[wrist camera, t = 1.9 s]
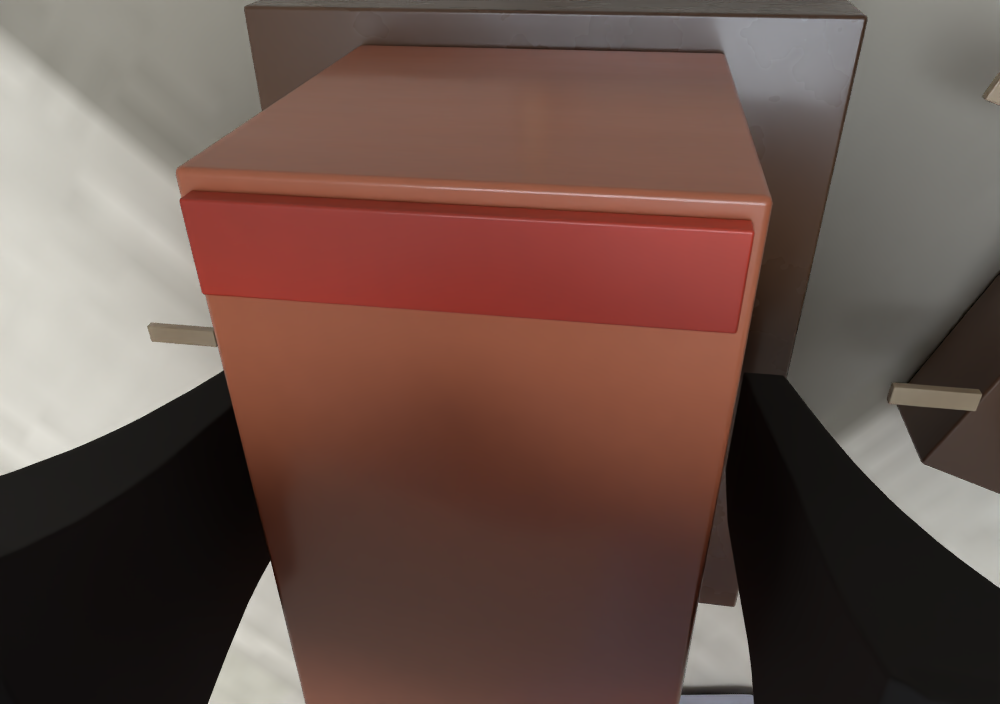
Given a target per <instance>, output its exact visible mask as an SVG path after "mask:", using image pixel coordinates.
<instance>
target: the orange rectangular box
mask: <svg viewBox="0 0 1000 704" xmlns="http://www.w3.org/2000/svg"><path fill="white" fill-rule="evenodd" d="M176 177H177V181H178V186H179V190H180V194H181V198H180V205H181V210H182V214H183V218H184V222H185V226H186V230H187V234H188V238H189V242H190V246H191V250H192V254H193V258H194V262H195V266H196V270H197V274H198V278H199V282H200V286H201V290H202V293H203V294H205V295H206V300H207V304H208V308H209V312H210V316H211V320H212V324H213V328H214V332H215V336H216V340H217V344H218V348H219V352H220V357H221V361H222V365H223V369H224V373H225V377H226V381H227V385H228V389H229V393H230V397H231V401H232V405H233V409H234V414H235V418H236V422H237V426H238V430H239V434H240V438H241V442H242V446H243V450H244V454H245V458H246V462H247V466H248V471H249V475H250V479H251V483H252V487H253V491H254V495H255V499H256V503H257V507H258V511H259V515H260V519H261V523H262V527H263V532H264V536H265V540H266V544H267V548H268V552H269V556H270V560H271V564H272V568H273V572H274V576H275V580H276V584H277V589H278V593H279V597H280V601H281V605H282V609H283V613H284V617H285V621H286V625H287V629H288V633H289V637H290V641H291V646H292V650H293V654H294V658H295V662H296V666H297V670H298V674H299V678H300V682H301V686H302V690H303V694H304V698H305V703H306V704H679V703H680V698H681V692H682V687H683V682H684V676H685V671H686V665H687V660H688V655H689V649H690V644H691V639H692V633H693V628H694V623H695V617H696V612H697V607H698V601H699V596H700V590H701V585H702V580H703V574H704V569H705V564H706V558H707V553H708V548H709V542H710V537H711V532H712V526H713V521H714V515H715V510H716V505H717V499H718V494H719V489H720V483H721V478H722V473H723V467H724V462H725V457H726V451H727V446H728V440H729V435H730V430H731V424H732V419H733V414H734V408H735V403H736V398H737V392H738V387H739V382H740V376H741V371H742V365H743V360H744V355H745V349H746V344H747V339H748V333H749V328H750V323H751V317H752V312H753V307H754V301H755V296H756V290H757V285H758V280H759V274H760V269H761V264H762V258H763V253H764V248H765V242H766V237H767V231H768V226H769V221H770V215H771V210H772V205H773V202H772V198H771V195H770V192H769V188H768V185H767V182H766V179H765V176H764V173H763V170H762V167H761V164H760V161H759V158H758V155H757V152H756V148H755V145H754V142H753V139H752V136H751V133H750V130H749V127H748V124H747V121H746V118H745V115H744V112H743V108H742V105H741V102H740V99H739V96H738V93H737V90H736V87H735V84H734V81H733V78H732V75H731V72H730V68H729V65H728V62H727V59H726V56H725V55H724V54H720V53H677V52H634V51H590V50H547V49H504V48H461V47H417V46H374V45H361V46H359V47H357V48H356V49H354V50H353V51H351V52H350V53H348V54H347V55H345V56H344V57H342V58H341V59H339V60H338V61H336V62H335V63H333V64H332V65H330V66H329V67H327V68H326V69H324V70H323V71H321V72H320V73H318V74H317V75H315V76H314V77H313V78H311V79H310V80H308V81H307V82H305V83H304V84H302V85H301V86H299V87H298V88H296V89H295V90H293V91H292V92H290V93H289V94H287V95H286V96H284V97H283V98H281V99H280V100H278V101H277V102H275V103H274V104H272V105H271V106H269V107H268V108H266V109H265V110H263V111H262V112H260V113H259V114H257V115H256V116H254V117H253V118H251V119H250V120H248V121H247V122H245V123H244V124H242V125H241V126H239V127H238V128H236V129H235V130H233V131H232V132H230V133H229V134H227V135H226V136H224V137H223V138H221V139H220V140H218V141H217V142H215V143H214V144H212V145H211V146H209V147H208V148H206V149H205V150H203V151H202V152H200V153H199V154H197V155H196V156H194V157H193V158H191V159H190V160H188V161H187V162H185V163H184V164H182V165H181V166H179V167H178V168H177V170H176Z"/></svg>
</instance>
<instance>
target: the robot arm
mask: <svg viewBox="0 0 1000 704" xmlns="http://www.w3.org/2000/svg"><path fill="white" fill-rule="evenodd" d="M725 470H726V501H727V522H728V529H729V535H730V541H731V547H732V553H733V559H734V565H735V571H736V576H737V582H738V588H739V594H740V599H741V605H742V611H743V617H744V622H745V628H746V634H747V640H748V646H749V654H750V662H751V670H752V685H753V695H748V694H715V695H681V698H680V703H679V704H1000V588H999V587H997V586H996V585H994V584H993V583H992V582H990V581H989V580H988V579H986V578H985V577H983V576H982V575H981V574H979V573H978V572H977V571H975V570H974V569H973V568H971V567H970V566H968V565H967V564H966V563H964V562H963V561H962V560H960V559H959V558H958V557H956V556H955V555H954V554H953V553H951V552H950V551H949V550H947V549H946V548H945V547H944V546H942V545H941V544H940V543H939V542H937V541H936V540H935V539H934V538H933V537H932V536H930V535H929V534H928V533H927V532H926V531H925V530H924V529H922V528H921V527H920V526H919V525H918V524H917V523H915V522H914V521H913V520H912V519H911V518H910V517H908V516H907V515H906V514H905V513H904V512H903V511H902V510H901V509H900V508H899V507H897V506H896V505H895V504H894V503H893V502H892V501H891V500H890V499H889V498H888V497H887V496H886V495H885V494H884V493H883V492H882V491H881V490H880V489H879V488H878V487H877V486H876V485H875V484H874V483H873V482H872V481H871V480H870V479H869V478H868V477H867V476H866V475H865V474H864V473H863V472H862V471H861V470H860V468H859V467H858V466H857V465H856V464H855V463H854V462H853V461H852V459H851V458H850V457H849V456H848V455H847V454H846V453H845V451H844V450H843V449H842V448H841V447H840V446H839V444H838V443H837V442H836V441H835V440H834V439H833V437H832V436H831V435H830V434H829V433H828V431H827V430H826V429H825V428H824V426H823V425H822V424H821V423H820V421H819V420H818V419H817V418H816V416H815V415H814V414H813V413H812V411H811V410H810V409H809V407H808V406H807V405H806V404H805V402H804V401H803V400H802V398H801V397H800V396H799V394H798V393H797V392H796V391H795V389H794V388H793V387H792V385H791V384H790V383H789V382H788V380H787V379H786V378H785V377H784V376H783V375H772V374H760V373H748V372H744V374H743V379H742V385H741V390H740V395H739V400H738V406H737V411H736V416H735V422H734V427H733V432H732V437H731V443H730V448H729V453H728V459H727V464H726V469H725ZM269 562H270V556H269V552H268V548H267V544H266V540H265V536H264V532H263V527H262V523H261V519H260V515H259V511H258V507H257V503H256V499H255V495H254V491H253V487H252V483H251V479H250V475H249V471H248V466H247V462H246V458H245V454H244V450H243V446H242V442H241V438H240V434H239V430H238V426H237V422H236V418H235V414H234V409H233V405H232V401H231V397H230V393H229V389H228V385H227V381H226V377H225V373H224V371H222V372H220V373H219V374H217V375H216V376H214V377H212V378H211V379H209V380H207V381H206V382H204V383H202V384H201V385H199V386H197V387H196V388H194V389H192V390H191V391H189V392H187V393H185V394H183V395H182V396H180V397H178V398H176V399H174V400H172V401H171V402H169V403H167V404H165V405H163V406H162V407H160V408H158V409H156V410H154V411H153V412H151V413H149V414H147V415H145V416H143V417H142V418H140V419H138V420H136V421H134V422H132V423H130V424H128V425H126V426H124V427H121V428H119V429H117V430H115V431H113V432H111V433H109V434H107V435H104V436H102V437H100V438H98V439H95V440H93V441H91V442H89V443H86V444H84V445H82V446H79V447H77V448H75V449H72V450H70V451H67V452H64V453H62V454H59V455H56V456H54V457H51V458H48V459H46V460H43V461H40V462H38V463H35V464H32V465H30V466H27V467H24V468H22V469H19V470H16V471H14V472H11V473H8V474H5V475H2V476H0V704H208V702H209V699H210V696H211V694H212V691H213V689H214V686H215V684H216V681H217V678H218V676H219V673H220V671H221V668H222V665H223V663H224V660H225V658H226V655H227V652H228V650H229V648H230V645H231V643H232V640H233V638H234V636H235V633H236V631H237V628H238V626H239V624H240V621H241V619H242V616H243V614H244V612H245V609H246V607H247V604H248V602H249V600H250V598H251V596H252V594H253V592H254V590H255V588H256V586H257V584H258V582H259V580H260V578H261V576H262V574H263V573H264V571H265V569H266V567H267V565H268V564H269Z"/></svg>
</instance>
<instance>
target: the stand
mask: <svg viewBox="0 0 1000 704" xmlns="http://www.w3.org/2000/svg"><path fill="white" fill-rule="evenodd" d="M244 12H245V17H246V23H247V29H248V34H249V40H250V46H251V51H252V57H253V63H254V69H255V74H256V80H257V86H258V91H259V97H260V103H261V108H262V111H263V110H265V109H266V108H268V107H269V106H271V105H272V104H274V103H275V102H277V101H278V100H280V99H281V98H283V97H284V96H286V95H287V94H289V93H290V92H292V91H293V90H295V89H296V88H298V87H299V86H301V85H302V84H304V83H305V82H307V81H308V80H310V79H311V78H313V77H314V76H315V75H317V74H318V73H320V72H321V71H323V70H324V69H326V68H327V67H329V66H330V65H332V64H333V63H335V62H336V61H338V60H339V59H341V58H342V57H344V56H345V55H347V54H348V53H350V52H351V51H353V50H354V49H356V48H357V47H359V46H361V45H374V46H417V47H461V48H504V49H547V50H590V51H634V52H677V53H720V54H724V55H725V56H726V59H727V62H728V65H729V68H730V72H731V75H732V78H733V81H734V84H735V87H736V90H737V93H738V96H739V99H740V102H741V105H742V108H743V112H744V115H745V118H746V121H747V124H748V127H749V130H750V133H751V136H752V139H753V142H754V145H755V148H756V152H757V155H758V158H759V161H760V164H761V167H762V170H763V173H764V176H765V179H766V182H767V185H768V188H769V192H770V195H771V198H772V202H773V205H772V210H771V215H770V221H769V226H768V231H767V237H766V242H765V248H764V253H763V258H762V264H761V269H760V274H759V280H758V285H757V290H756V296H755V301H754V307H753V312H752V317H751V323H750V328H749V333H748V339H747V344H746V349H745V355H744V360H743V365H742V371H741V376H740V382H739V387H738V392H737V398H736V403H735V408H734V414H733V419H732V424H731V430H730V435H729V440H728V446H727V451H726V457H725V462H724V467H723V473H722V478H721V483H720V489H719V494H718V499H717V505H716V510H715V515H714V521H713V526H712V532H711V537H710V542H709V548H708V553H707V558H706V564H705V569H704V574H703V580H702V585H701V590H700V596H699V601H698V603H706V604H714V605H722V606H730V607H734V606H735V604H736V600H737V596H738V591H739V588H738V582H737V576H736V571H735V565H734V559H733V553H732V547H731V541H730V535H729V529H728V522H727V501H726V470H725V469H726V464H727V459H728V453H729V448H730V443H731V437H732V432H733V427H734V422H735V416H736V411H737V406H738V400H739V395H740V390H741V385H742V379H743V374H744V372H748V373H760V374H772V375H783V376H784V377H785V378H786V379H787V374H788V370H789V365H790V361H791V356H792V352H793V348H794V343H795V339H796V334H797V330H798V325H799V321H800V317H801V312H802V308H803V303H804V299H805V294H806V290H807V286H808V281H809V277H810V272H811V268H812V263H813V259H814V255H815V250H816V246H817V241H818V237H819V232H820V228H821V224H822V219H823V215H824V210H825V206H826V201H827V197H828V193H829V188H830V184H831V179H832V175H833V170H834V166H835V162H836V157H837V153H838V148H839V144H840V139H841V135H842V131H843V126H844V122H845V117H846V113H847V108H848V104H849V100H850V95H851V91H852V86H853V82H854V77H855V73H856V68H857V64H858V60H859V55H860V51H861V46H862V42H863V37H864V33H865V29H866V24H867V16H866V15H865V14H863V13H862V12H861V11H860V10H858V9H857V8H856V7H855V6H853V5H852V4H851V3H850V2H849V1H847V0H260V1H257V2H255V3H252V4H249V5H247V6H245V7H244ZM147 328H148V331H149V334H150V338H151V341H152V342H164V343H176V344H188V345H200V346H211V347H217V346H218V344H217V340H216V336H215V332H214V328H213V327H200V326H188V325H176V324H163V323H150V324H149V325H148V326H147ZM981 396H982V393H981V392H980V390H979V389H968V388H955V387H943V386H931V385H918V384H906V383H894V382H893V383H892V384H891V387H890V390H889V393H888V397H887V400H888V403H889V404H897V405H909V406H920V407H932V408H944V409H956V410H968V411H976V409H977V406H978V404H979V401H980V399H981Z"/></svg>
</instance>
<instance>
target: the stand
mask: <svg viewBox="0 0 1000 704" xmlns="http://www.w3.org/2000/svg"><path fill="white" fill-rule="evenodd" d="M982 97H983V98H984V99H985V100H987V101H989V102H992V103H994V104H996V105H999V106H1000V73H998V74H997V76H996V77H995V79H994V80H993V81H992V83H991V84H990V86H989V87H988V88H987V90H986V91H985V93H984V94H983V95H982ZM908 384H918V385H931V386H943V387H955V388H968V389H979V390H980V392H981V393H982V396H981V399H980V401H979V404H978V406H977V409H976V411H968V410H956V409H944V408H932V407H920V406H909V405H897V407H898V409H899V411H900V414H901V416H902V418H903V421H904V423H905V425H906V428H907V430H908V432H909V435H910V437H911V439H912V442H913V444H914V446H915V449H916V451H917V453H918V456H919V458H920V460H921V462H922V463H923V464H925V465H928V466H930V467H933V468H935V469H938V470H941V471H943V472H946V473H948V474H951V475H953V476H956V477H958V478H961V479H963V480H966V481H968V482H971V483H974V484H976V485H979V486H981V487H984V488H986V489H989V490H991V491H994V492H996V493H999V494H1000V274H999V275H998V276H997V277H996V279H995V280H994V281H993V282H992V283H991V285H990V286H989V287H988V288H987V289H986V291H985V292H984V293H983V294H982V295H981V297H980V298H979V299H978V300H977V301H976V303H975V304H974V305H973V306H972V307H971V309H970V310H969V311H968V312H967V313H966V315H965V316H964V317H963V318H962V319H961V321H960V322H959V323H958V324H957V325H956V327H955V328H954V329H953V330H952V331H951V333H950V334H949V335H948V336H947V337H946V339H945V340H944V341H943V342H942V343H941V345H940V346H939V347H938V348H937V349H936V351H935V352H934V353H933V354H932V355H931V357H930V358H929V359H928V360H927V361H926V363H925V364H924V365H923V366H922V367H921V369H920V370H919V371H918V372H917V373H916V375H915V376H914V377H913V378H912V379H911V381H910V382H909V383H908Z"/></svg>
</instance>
